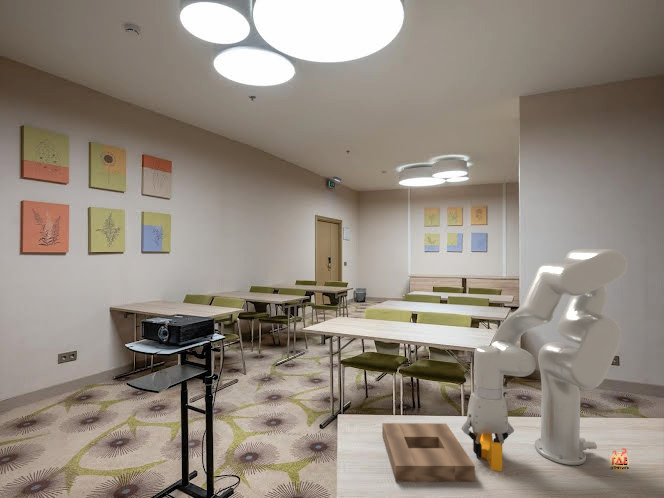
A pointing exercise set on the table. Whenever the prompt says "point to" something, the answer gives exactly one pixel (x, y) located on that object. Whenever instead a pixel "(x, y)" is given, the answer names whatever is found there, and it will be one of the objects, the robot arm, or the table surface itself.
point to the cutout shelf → (426, 453)
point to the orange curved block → (491, 451)
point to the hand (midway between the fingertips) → (487, 454)
